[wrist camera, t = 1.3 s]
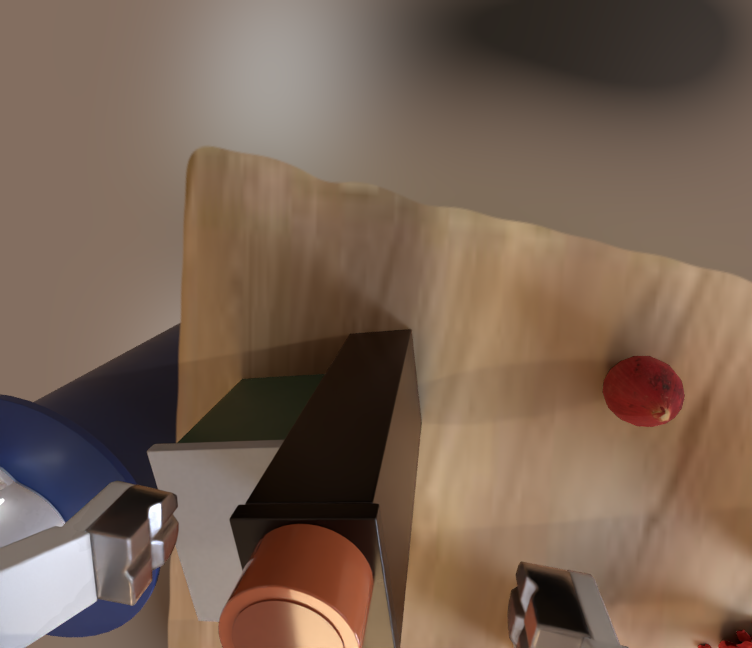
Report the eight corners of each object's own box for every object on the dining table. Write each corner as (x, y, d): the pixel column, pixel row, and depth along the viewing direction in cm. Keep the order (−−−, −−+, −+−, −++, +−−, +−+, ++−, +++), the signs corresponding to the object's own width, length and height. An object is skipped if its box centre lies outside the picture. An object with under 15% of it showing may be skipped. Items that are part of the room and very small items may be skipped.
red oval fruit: (612, 333, 41) (652, 369, 33) (671, 358, 41) (725, 398, 33) (579, 387, 43) (610, 432, 35) (636, 411, 43) (679, 460, 35)
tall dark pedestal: (361, 422, 47) (271, 684, 23) (347, 331, 44) (228, 518, 20) (424, 420, 46) (402, 693, 22) (415, 326, 43) (376, 518, 19)
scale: (267, 496, 52) (198, 621, 37) (238, 367, 47) (146, 451, 33) (361, 495, 50) (327, 626, 35) (340, 360, 45) (290, 446, 31)
